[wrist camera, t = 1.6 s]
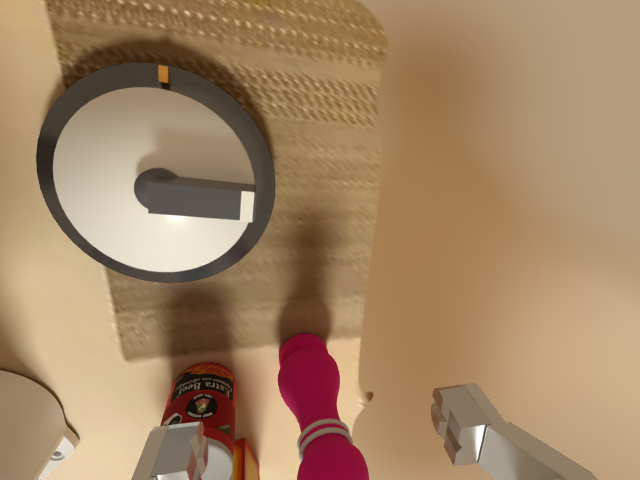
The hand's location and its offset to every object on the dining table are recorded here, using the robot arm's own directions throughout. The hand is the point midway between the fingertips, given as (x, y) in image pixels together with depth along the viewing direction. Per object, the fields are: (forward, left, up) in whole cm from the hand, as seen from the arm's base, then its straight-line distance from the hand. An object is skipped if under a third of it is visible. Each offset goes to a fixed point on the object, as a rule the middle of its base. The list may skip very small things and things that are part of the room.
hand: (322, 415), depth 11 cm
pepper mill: (-12, -14, -25) cm, 31 cm away
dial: (-2, +10, -23) cm, 25 cm away
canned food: (-22, -6, -25) cm, 34 cm away
